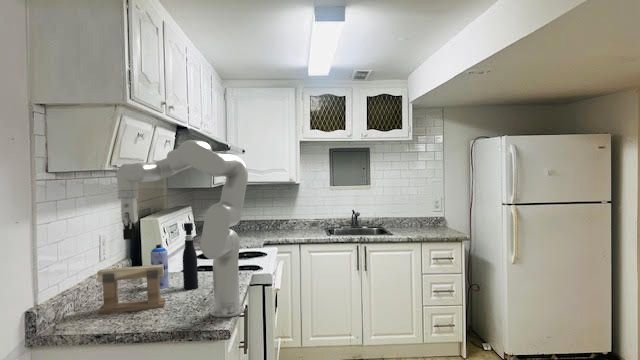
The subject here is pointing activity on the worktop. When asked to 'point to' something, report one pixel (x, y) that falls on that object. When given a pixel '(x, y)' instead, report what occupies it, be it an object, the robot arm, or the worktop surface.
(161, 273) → the maple bar
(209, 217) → the robot arm
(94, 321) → the worktop surface
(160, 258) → the aerosol can
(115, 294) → the walnut rack
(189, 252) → the black tall bottle
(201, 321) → the worktop surface
